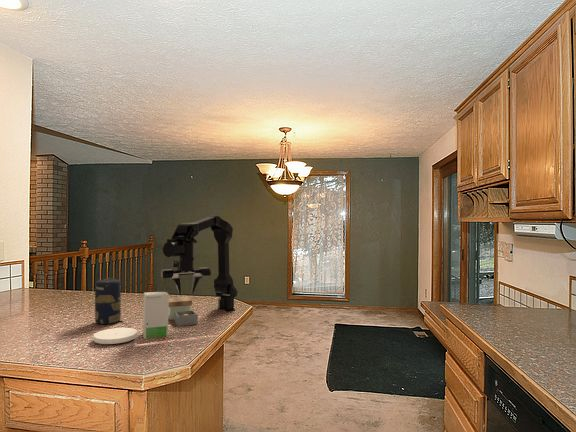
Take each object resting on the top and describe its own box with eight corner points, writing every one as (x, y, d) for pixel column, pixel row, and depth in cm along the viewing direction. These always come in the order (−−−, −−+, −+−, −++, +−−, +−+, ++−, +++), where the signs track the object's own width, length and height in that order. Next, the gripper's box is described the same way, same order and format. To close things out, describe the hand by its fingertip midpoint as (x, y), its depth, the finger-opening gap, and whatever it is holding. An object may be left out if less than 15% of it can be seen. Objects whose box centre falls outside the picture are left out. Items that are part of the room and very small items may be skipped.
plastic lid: (122, 348, 131) (122, 340, 131) (84, 345, 133) (84, 338, 133) (144, 335, 145) (145, 328, 145) (109, 333, 147) (109, 326, 147)
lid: (187, 300, 175) (187, 296, 175) (192, 305, 166) (192, 300, 166) (165, 302, 171) (165, 298, 171) (168, 307, 162) (168, 302, 162)
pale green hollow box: (186, 315, 174) (186, 301, 174) (190, 319, 167) (190, 305, 167) (166, 317, 170) (166, 302, 171) (169, 321, 163) (170, 306, 163)
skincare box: (143, 340, 138) (144, 295, 138) (142, 335, 144) (142, 292, 144) (169, 337, 141) (169, 293, 141) (166, 332, 147) (166, 290, 147)
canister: (125, 320, 164) (126, 276, 164) (108, 326, 155) (108, 280, 156) (107, 318, 168) (107, 275, 168) (89, 324, 159) (89, 278, 159)
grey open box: (193, 321, 164) (193, 310, 164) (197, 325, 157) (197, 314, 157) (174, 323, 161) (174, 311, 161) (177, 327, 154) (177, 316, 154)
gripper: (204, 252, 170) (204, 289, 170) (159, 254, 162) (158, 292, 162) (211, 254, 160) (211, 293, 160) (163, 256, 152) (162, 297, 152)
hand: (186, 294), depth 159 cm, fingers open, 5 cm apart
